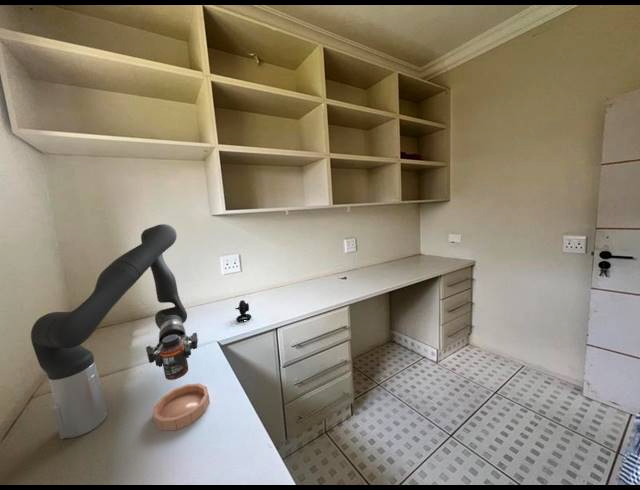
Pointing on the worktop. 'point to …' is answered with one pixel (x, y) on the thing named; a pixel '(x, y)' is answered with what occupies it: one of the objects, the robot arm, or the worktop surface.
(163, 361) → the supplement bottle
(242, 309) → the webcam
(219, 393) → the worktop surface
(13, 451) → the worktop surface
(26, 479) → the worktop surface
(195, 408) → the bowl
